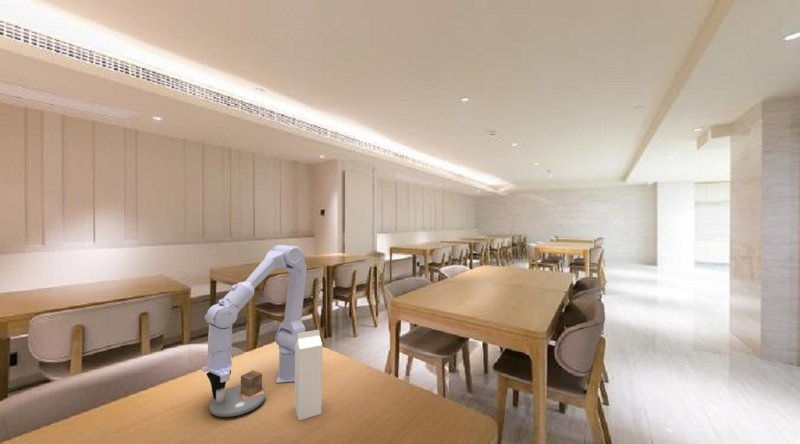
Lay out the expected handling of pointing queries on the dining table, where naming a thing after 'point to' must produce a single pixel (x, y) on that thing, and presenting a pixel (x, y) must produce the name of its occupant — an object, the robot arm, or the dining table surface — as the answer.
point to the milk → (308, 374)
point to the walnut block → (251, 383)
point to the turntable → (234, 402)
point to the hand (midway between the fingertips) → (218, 397)
